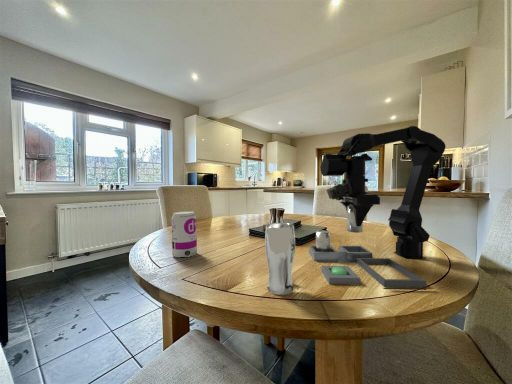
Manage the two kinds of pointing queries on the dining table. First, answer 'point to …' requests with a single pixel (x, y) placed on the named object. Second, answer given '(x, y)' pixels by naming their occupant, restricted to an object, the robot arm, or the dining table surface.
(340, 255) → the grey shallow tray
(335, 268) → the button
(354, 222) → the billet
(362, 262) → the grey rectangular frame
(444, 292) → the dining table surface
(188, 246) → the supplement can
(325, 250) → the seated billet
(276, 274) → the silver vase
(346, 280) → the button housing
